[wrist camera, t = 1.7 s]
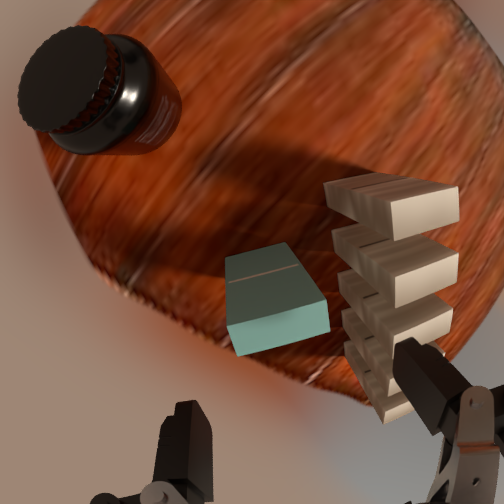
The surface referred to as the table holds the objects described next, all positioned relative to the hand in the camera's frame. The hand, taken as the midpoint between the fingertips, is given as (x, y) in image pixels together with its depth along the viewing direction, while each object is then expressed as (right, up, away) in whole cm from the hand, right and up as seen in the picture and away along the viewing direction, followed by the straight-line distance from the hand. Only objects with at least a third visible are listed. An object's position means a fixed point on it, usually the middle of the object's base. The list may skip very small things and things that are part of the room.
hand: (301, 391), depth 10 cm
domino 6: (+10, -4, +17) cm, 21 cm away
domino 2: (+6, +10, +12) cm, 17 cm away
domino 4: (+8, +3, +15) cm, 17 cm away
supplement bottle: (-10, +16, +9) cm, 21 cm away
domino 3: (+7, +7, +13) cm, 17 cm away
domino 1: (-1, +5, +13) cm, 14 cm away
